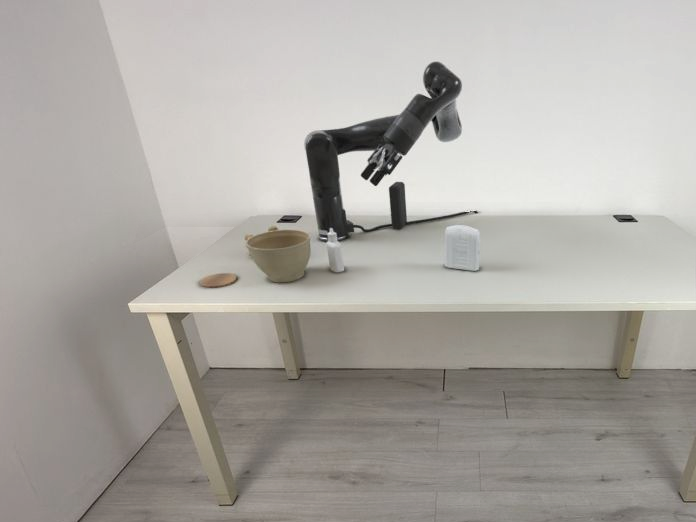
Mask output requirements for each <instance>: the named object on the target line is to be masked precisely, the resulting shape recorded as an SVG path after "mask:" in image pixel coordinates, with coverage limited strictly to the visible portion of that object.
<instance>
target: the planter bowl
mask: <svg viewBox="0 0 696 522" xmlns="http://www.w3.org/2000/svg"><path fill="white" fill-rule="evenodd" d="M245 243H246V244H245V245H247V247H248V248H247V247H246V248H247V250H248V252H250V255H251V256H250V257H251V259H252V261H253V263H254V264H255V265H256V267H257V268H258V269H259V270H260V271H261V272H262V273H264V274H265V275H266V276H267V278H268V280H269V281H271V282H274V283H289V282H294V281H297V280H300V279H301V278H302V277H303V276H305V270H306V268H307V266H308V264H309V261H310V257H311V250H312V249H311V235H310V234H309V233H308V232H306V231H304V230H300V229H299V230H297V229H279V230H276V231H270V232H268V231H266V232H261V233H258V234H254V235H253V237H251V238H249V239H248V240H247V241H246V240H245Z"/></svg>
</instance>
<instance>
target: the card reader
mask: <svg viewBox="0 0 696 522" xmlns="http://www.w3.org/2000/svg"><path fill="white" fill-rule="evenodd" d="M405 186H406V184H405V182H403V181H395V182H394V183H392V184H391V185H390V186H389V187H388V195H389V196H388V197H389V207H390V208H389V209H390V221H391V223H390V224H392V229H393V230H402V229H403V228H404V226H406V225H405V222H408V218H407V203H406V202H407V201H406V187H405Z"/></svg>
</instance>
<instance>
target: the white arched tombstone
mask: <svg viewBox="0 0 696 522" xmlns="http://www.w3.org/2000/svg"><path fill="white" fill-rule="evenodd" d="M480 252H481V232H480V230H479V229H477V228H476V227H472V226H469V225H463V224H457V225H456V224H455V225H450V226H447V227H446V228H445V232H444V253H445V254H444V263H445V264H444V265H445V267H446V268H450V269H456V270H457V269H458V270H464V271H473V272H477V271H479V269H480V254H481V253H480Z"/></svg>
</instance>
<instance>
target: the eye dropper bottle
mask: <svg viewBox="0 0 696 522" xmlns="http://www.w3.org/2000/svg"><path fill="white" fill-rule="evenodd" d="M327 235H328V241H326V250H327V257H328V263H329V269H330V271H332V272H334V273H343V272H344V271H345V266H344V258H343V251H342V245H341V243H340V242H339V241H337V234H336V233H335V232H334V231H333V229H332V228H330V232H329V233H328V234H327Z"/></svg>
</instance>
